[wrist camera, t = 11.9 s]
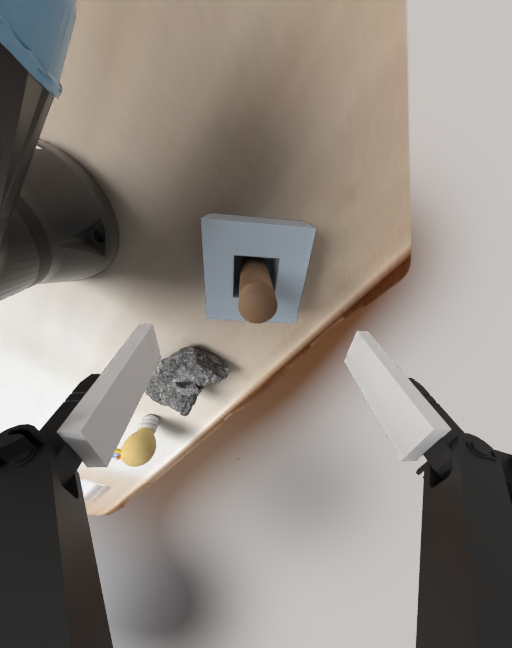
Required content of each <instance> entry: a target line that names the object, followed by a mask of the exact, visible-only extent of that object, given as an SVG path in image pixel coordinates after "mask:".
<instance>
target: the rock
mask: <svg viewBox="0 0 512 648" xmlns="http://www.w3.org/2000/svg"><path fill="white" fill-rule="evenodd" d="M228 373H229V369H228V368H227V366H226V365H224V364H222V363H221V361H220V359H219V358H218V356H215V355H212V354H209V353H207V352H205V351H203V350H198V349H196V348H194V347H192V346H190V347H187V348H182V349H180V350H179V351H177V352H175V353H173V354H172V355H171V356H170V357H168V358H165V359H163V360H161V361H160V362H158V364H157V366H156V368H155V371H154V373H153V375H152V377H151V379H150V381H149V383H148V385H147V387H146V389H145V391H144V392H145V393H146V394H147V395H149V396H150V398H151V399H152V400H153V401H155V402H158V403H159V404H161V405H164V406H169V407H170V408H172V409H174V410H176V411H178V412H180V413H181V415H183V416H187V415H188V414H189V412H190V411H191V409H192V406H193V405H194V404H195V402H196V399H197V396H198V395H199V393H200V392H201V391H202V389H203V388H204V387H206V386H208V385H209V384H210V383H212V382H213V383H218V382H220V381H221V380H222V379H224V378H226V377H227V376H228Z"/></svg>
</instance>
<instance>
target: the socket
mask: <svg viewBox="0 0 512 648" xmlns="http://www.w3.org/2000/svg"><path fill="white" fill-rule="evenodd" d="M201 231H202V248H203V265H204V281H205V298H206V314H207V319H215V320H235V321H247V320H245V319H244V318H243V317H242V316H241V314H240V312H239V309H238V302H239V285H240V269H241V261H242V259H243V258H244V256H252V257H264V259H265V261H266V264H267V268H268V271H269V275H270V278H271V282H272V285H273V289H274V292H275V296H276V300H277V304H278V307H277V311H276V313H275V315H274V316H273V317H272V318H271V319H270V320H268V321H266V322H276V323H295V322H296V318H297V313H298V309H299V305H300V300H301V296H302V291H303V287H304V282H305V278H306V273H307V269H308V264H309V260H310V255H311V251H312V246H313V242H314V237H315V233H316V228H315V227H313V226H312V225H310V224H308V223H306V222H304V221H297V220H286V219H275V218H263V217H252V216H240V215H229V214H218V213H209V214H207V215H205V216H204V217H202V218H201Z"/></svg>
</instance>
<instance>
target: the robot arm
mask: <svg viewBox="0 0 512 648" xmlns="http://www.w3.org/2000/svg"><path fill="white" fill-rule="evenodd" d="M75 19H76V0H0V300H2V299H5V298H7V297H9V296H11V295H13V294H16V293H18V292H20V291H22V290H24V289H26V288H29V287H31V286H33V285H36V284H42V283H54V282H66V281H77V280H82V279H86V278H89V277H91V276H93V275H95V274H97V273H99V272H101V271H102V270H104V269H105V268H107V267H108V266H109V265H110V264H111V262H112V261H113V260H114V258H115V256H116V253H117V250H118V245H119V232H118V226H117V222H116V218H115V215H114V212H113V210H112V208H111V205H110V203H109V201H108V200H107V198H106V196H105V194H104V193H103V191H102V190H101V188H100V187H99V186H98V184H97V183H96V182H95V180H94V179H93V178H92V177H91V176H90V175H89V174H88V172H87V171H86V170H85V169H84V168H83V167H82V166H81V165H79V164H78V163H77V162H76V161H75V160H74V159H72V158H71V157H70V156H68V155H67V154H66V153H64V152H63V151H61V150H60V149H58V148H56V147H55V146H53V145H51V144H49V143H47V142H45V141H43V140H40V139H39V137H40V134H41V131H42V129H43V126H44V123H45V120H46V117H47V115H48V112H49V109H50V107H51V104H52V102H53V99H54V96H55V97H57V98H58V99H59V96H60V94H61V92H62V87H61V84H60V81H59V80H60V77H61V73H62V69H63V65H64V61H65V57H66V54H67V50H68V46H69V42H70V38H71V34H72V30H73V27H74V23H75ZM160 358H161V355H160V351H159V347H158V343H157V339H156V335H155V331H154V327H153V324H139V325H138V327H137V328H136V329H135V330H134V332H133V333H132V334H131V336H130V337H129V338H128V340H127V341H126V342H125V343H124V345H123V346H122V347H121V349H120V350H119V351H118V353H117V354H116V355H115V356H114V358H113V359H112V360H111V362H110V363H109V364H108V366H107V367H106V368H105V369H104V371H103V372H102V373H101V374H91V375H90V376H89V377H87V378H86V379H84V380H83V381H82V382H80V383H79V385H78V386H77V387H76V388H75V389H74V391H73V392H72V394H70V395H69V397H68V398H67V399H66V400H65V402H63V404H62V405H61V406H60V407H59V408H58V410H57V411H56V412H55V413H54V414H53V416H52V417H51V418H50V419H49V420H48V422H47V423H46V424H45V425H44V426H43V427H42V429H41V430H40V431H38V430H37V429H36V428H35V427H34V426H32V425H29V424H26V425H18V426H15V427H12V428H10V429H7V430H5V431H4V432H2V433H0V648H113V645H112V640H111V635H110V631H109V625H108V620H107V614H106V609H105V605H104V600H103V594H102V589H101V584H100V579H99V574H98V569H97V564H96V559H95V553H94V549H93V543H92V538H91V533H90V528H89V523H88V519H87V512H86V507H85V502H84V497H83V492H82V487H81V482H80V477H79V473H78V472H77V469H78V467H79V466H80V464H81V462H82V461H83V462H84V464H85V465H86V466H87V467H107V466H108V464H109V462H110V460H111V458H112V456H113V454H114V452H115V450H116V448H117V446H118V444H119V442H120V440H121V438H122V436H123V434H124V431H125V429H126V427H127V425H128V423H129V421H130V419H131V417H132V415H133V413H134V411H135V409H136V407H137V405H138V403H139V401H140V399H141V397H142V395H143V393H144V391H145V389H146V387H147V385H148V383H149V381H150V379H151V377H152V375H153V373H154V371H155V368H156V366H157V364H158V362H159V360H160ZM344 362H345V364H346V365H347V367H348V369H349V371H350V373H351V374H352V376H353V377H354V380H355V381H356V383H357V385H358V387H359V388H360V390H361V392H362V393H363V395H364V397H365V399H366V401H367V402H368V404H369V406H370V407H371V409H372V411H373V413H374V415H375V416H376V418H377V420H378V422H379V423H380V425H381V426H382V428H383V430H384V432H385V434H386V436H387V437H388V439H389V441H390V443H391V444H392V446H393V448H394V450H395V451H396V453H397V455H398V457H399V458H400V460H401V461H417V460H418V458H420V457H421V456H422V455H424V456H425V457H426V459H427V462H426V463H425V464H424V465H422V466H421V467H420V468H419V469H418V470H417V472H416V473H417V474H418V475H419V474H421V473H422V472H423V471H424V477H423V478H424V489H423V510H422V531H421V553H420V573H419V594H418V616H417V637H416V638H417V639H416V648H512V455H510V454H507V453H503V452H500V451H497V450H493V448H492V447H490V446H489V445H488V444H487V443H486V442H484V441H483V440H481V439H480V438H478V437H476V436H474V435H471V434H467V433H464V432H463V431H462V430H461V429H460V428H459V427H458V426H457V424H456V423H455V422H454V421H453V420H452V419H451V418H450V416H449V415H448V414H447V413H446V412H445V411H444V410H443V409H442V408H441V406H440V405H439V404H438V403H436V401H435V400H434V399H433V397H432V396H430V394H429V393H428V392H427V391H426V390H425V389H424V387H423V386H422V385H420V384H419V383H418V382H416V381H415V380H414V379H412V378H407V376H406V375H405V374H404V373H403V372H402V371H401V369H399V367H398V366H397V365H396V364H395V362H394V361H393V360H392V359H391V358H390V357H389V356H388V354H387V353H386V352H385V351H384V350H383V348H382V347H381V346H380V345H379V344H378V343H377V341H376V340H375V339H374V338H373V337H372V336H371V334H370V333H369V332H368V331H357V332H356V334H355V336H354V339H353V341H352V343H351V346H350V348H349V350H348V353H347V355H346V357H345V360H344Z"/></svg>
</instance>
